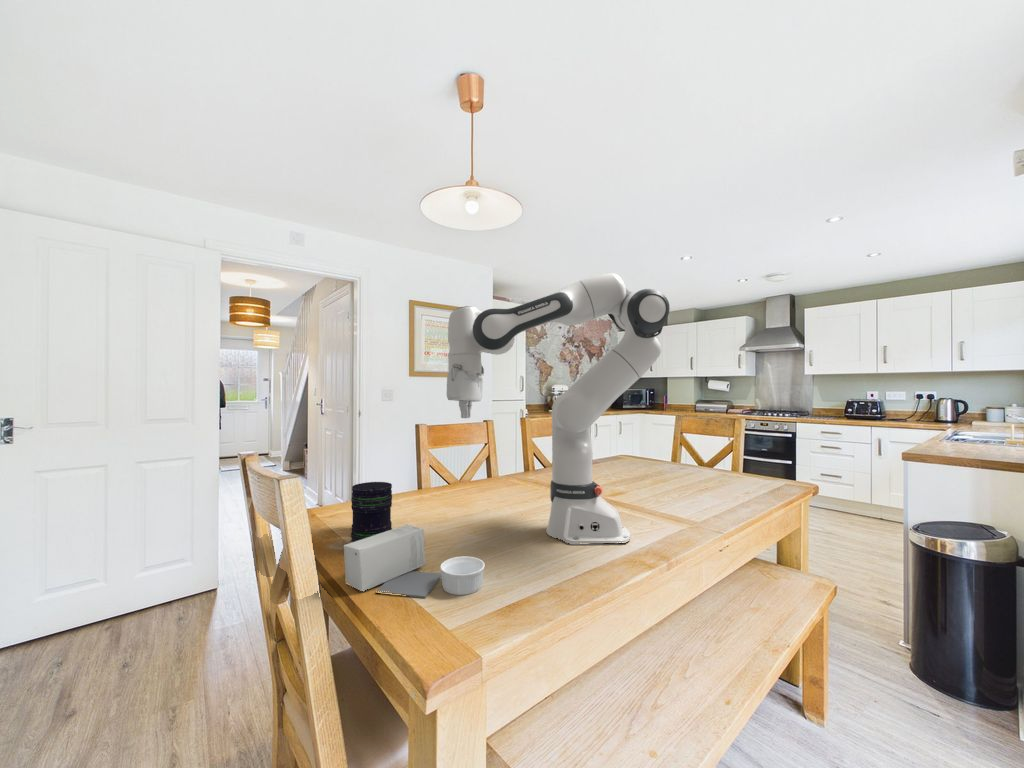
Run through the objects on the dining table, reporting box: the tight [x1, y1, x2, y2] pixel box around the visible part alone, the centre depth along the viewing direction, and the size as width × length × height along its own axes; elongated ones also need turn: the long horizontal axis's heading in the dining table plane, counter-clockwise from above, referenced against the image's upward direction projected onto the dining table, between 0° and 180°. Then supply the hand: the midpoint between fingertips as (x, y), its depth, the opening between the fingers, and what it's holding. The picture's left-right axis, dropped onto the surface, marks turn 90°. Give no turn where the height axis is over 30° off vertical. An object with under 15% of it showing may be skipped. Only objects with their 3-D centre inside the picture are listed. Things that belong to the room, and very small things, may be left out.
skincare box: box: [343, 524, 426, 592], centre depth 88 cm, size 8×7×16 cm
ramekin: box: [439, 555, 486, 596], centre depth 84 cm, size 9×9×4 cm
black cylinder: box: [350, 481, 393, 543], centre depth 106 cm, size 10×10×15 cm
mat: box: [376, 570, 442, 599], centre depth 84 cm, size 10×10×1 cm
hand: (465, 418), depth 112 cm, fingers closed
